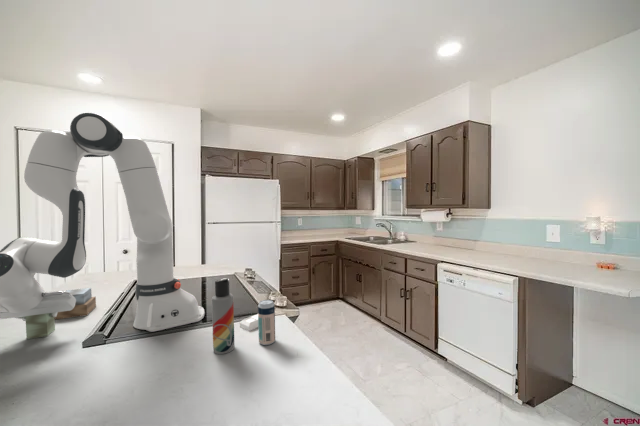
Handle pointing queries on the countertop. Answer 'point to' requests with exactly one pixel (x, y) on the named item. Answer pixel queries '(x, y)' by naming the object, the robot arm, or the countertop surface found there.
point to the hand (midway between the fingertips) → (41, 316)
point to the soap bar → (250, 323)
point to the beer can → (266, 322)
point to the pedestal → (79, 304)
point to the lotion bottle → (223, 317)
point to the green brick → (39, 325)
